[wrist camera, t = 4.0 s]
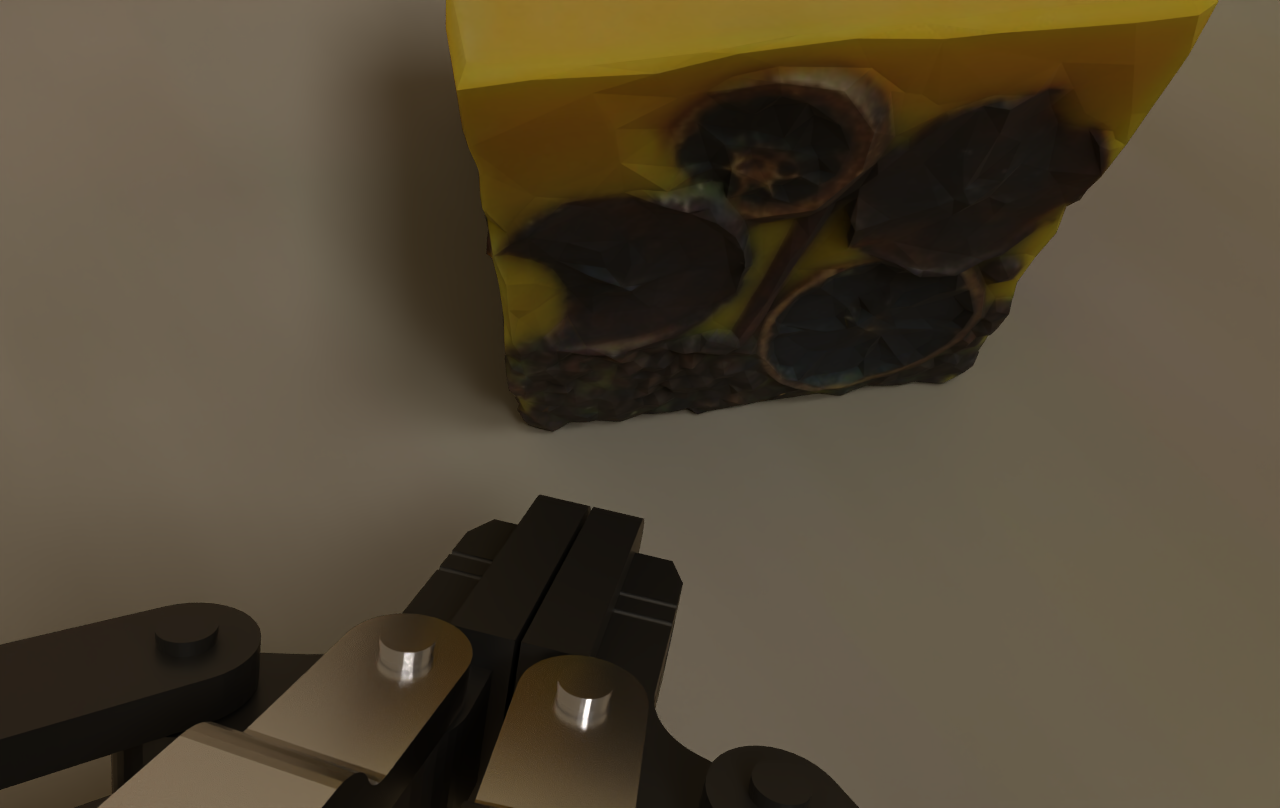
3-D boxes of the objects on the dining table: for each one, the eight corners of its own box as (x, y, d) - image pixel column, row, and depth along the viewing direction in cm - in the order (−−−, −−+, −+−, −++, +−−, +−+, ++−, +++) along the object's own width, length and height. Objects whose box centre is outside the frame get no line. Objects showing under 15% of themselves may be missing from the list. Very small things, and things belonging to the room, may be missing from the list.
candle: (480, 92, 24) (387, -368, 15) (858, 51, 25) (983, -411, 16) (514, 447, 19) (411, 89, 11) (976, 384, 20) (1246, 0, 11)
